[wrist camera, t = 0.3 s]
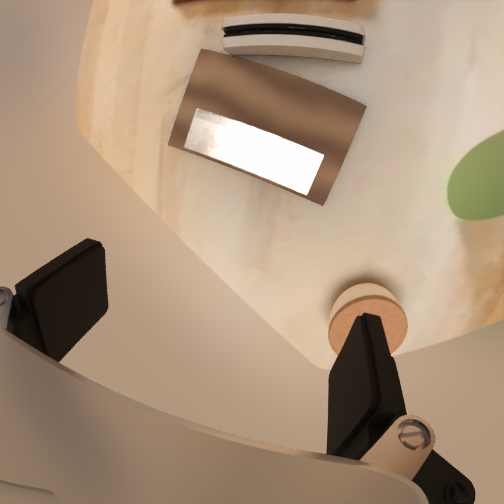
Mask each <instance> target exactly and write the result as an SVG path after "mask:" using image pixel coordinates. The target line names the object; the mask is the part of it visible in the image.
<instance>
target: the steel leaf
mask: <svg viewBox="0 0 504 504" xmlns="http://www.w3.org/2000/svg"><path fill="white" fill-rule="evenodd" d="M184 148H187V149H190V150H193V151H196V152H199V153H201V154H204V155H207V156H210V157H212V158H215V159H218V160H221V161H223V162H226V163H229V164H231V165H234V166H236V167H239V168H242V169H244V170H247V171H249V172H252V173H254V174H257V175H259V176H262V177H264V178H267V179H269V180H272V181H274V182H277V183H279V184H281V185H284V186H286V187H289V188H291V189H293V190H296V191H298V192H300V193H303V194H305V195H307V193H308V191H309V189H310V186H311V184H312V182H313V179H314V177H315V175H316V173H317V170H318V168H319V166H320V163H321V161H322V159H323V156H324V155H323V154H320V153H318V152H316V151H314V150H311V149H309V148H307V147H304V146H302V145H299V144H297V143H295V142H292V141H290V140H287V139H285V138H282V137H280V136H277V135H274V134H272V133H269V132H266V131H264V130H261V129H258V128H256V127H253V126H250V125H247V124H245V123H242V122H239V121H236V120H233V119H230V118H227V117H224V116H221V115H218V114H215V113H212V112H209V111H205V110H202V109H199V108H197V109H196V112H195V115H194V118H193V121H192V124H191V127H190V130H189V133H188V136H187V139H186V142H185V145H184Z"/></svg>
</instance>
